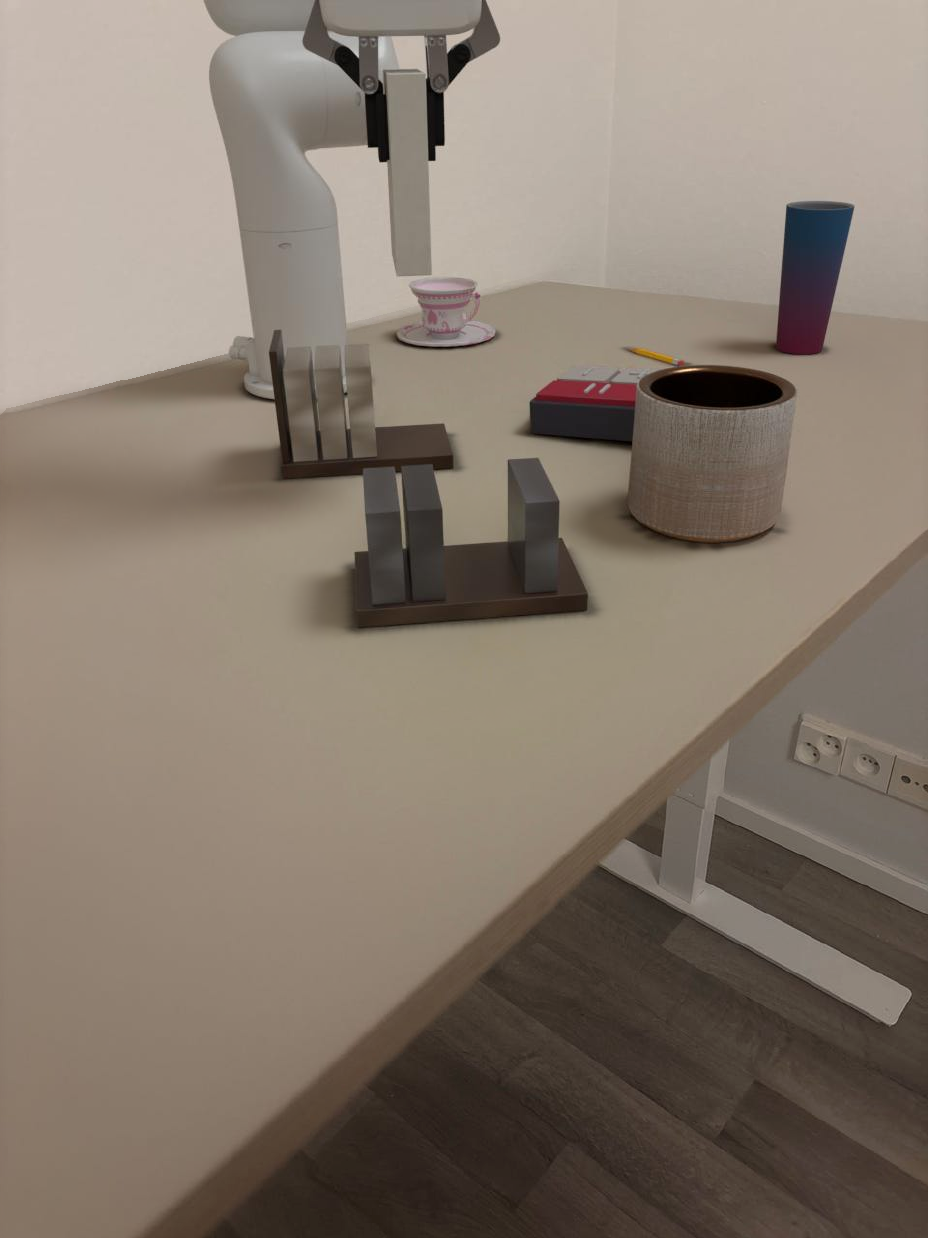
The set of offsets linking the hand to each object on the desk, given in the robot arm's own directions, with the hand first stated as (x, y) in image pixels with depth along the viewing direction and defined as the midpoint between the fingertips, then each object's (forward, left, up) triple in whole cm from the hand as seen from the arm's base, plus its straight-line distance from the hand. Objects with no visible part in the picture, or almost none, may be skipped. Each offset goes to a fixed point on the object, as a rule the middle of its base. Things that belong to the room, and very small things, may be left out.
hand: (406, 156), depth 66 cm
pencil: (+7, +42, -24) cm, 49 cm away
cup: (+21, +51, -24) cm, 60 cm away
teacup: (-19, +42, -24) cm, 52 cm away
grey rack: (+11, -15, -24) cm, 30 cm away
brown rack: (-7, +3, -24) cm, 25 cm away
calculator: (+11, +19, -24) cm, 32 cm away
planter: (+22, +2, -24) cm, 32 cm away
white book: (0, 0, -7) cm, 7 cm away
